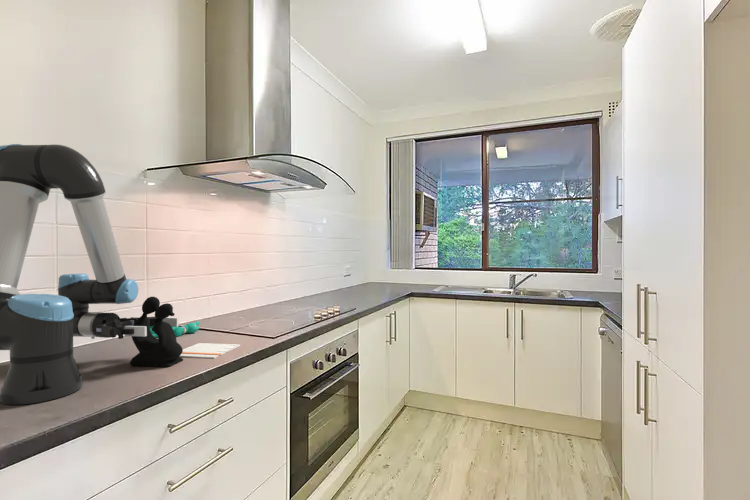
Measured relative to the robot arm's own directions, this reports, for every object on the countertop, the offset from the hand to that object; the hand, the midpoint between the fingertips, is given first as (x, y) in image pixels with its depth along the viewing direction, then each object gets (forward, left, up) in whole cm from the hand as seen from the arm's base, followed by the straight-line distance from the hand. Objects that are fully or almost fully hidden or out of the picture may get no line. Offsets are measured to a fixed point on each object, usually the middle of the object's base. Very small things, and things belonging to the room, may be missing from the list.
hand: (162, 326), depth 118 cm
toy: (+36, +27, -12) cm, 47 cm away
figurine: (0, +2, -11) cm, 11 cm away
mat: (+15, -4, -11) cm, 19 cm away
